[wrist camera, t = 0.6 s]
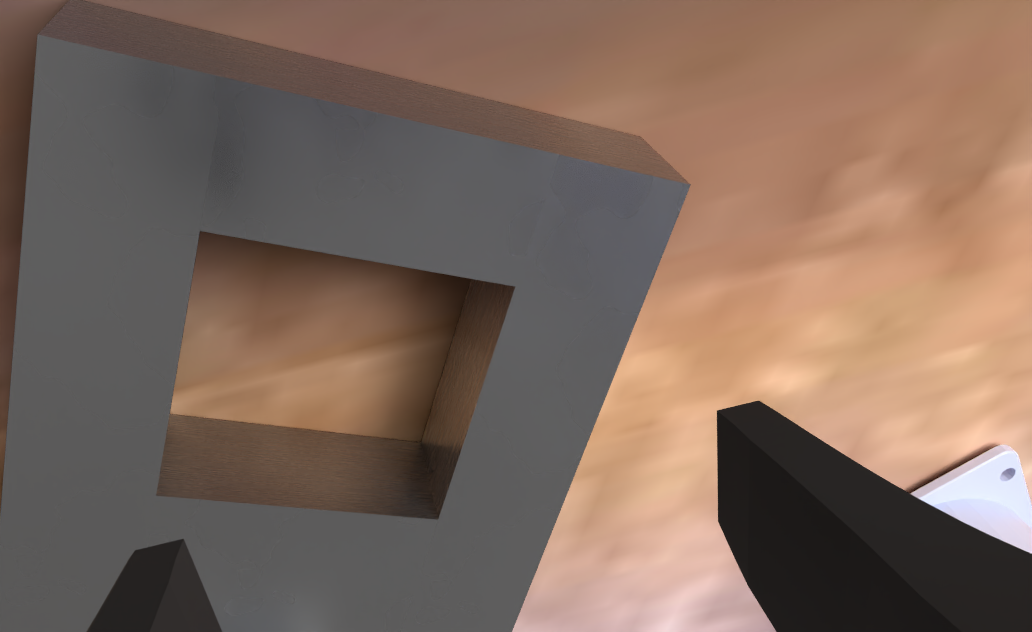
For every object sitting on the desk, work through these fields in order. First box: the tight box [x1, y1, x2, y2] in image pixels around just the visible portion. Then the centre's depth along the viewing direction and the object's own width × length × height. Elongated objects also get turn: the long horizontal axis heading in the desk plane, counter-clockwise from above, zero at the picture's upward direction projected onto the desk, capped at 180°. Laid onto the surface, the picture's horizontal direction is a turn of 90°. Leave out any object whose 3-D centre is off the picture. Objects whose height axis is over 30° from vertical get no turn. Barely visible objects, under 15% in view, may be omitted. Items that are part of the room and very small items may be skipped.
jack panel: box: [0, 0, 690, 632], centre depth 23 cm, size 24×12×3 cm, turn 163°
